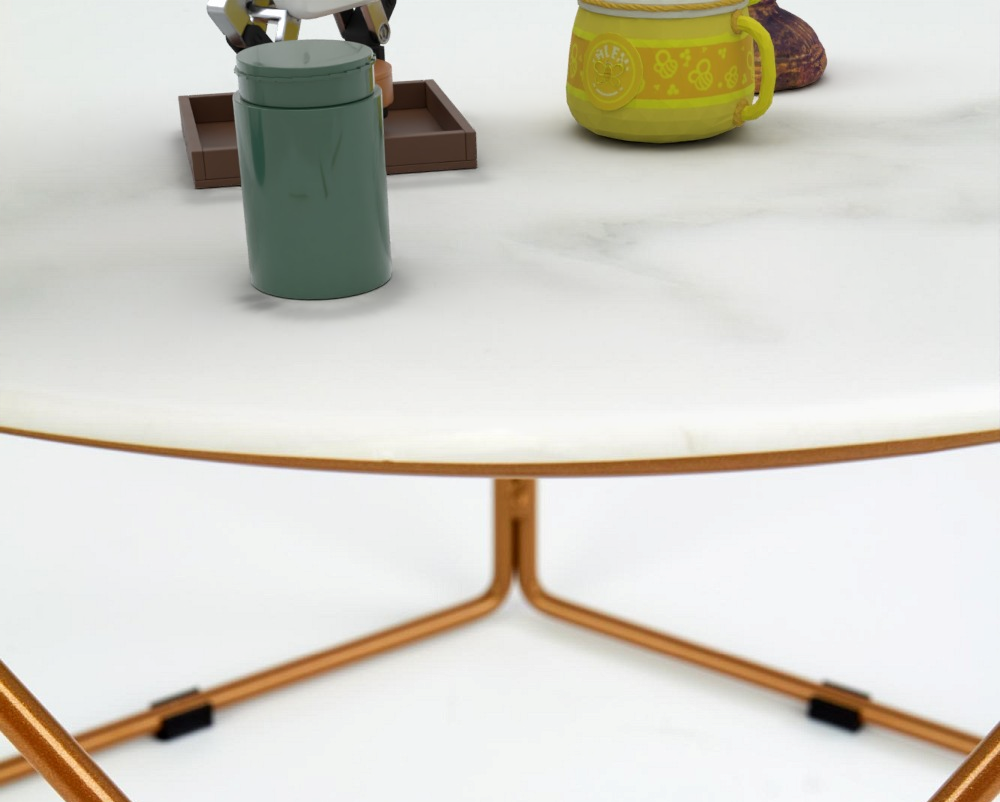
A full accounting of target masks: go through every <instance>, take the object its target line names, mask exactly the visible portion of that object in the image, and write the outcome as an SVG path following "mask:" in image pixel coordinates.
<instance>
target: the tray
mask: <svg viewBox="0 0 1000 802" xmlns="http://www.w3.org/2000/svg"><path fill="white" fill-rule="evenodd" d="M235 92H236V91H232V92H218V93H199V94H189V95H187V94H186V95H185V94H184V95H178V96H177V100H178V108H179V117H180V125H181V132H182V136H183V141H184V144H185V149H186V153H187V159H188V162H189V166H190V171H191V176H192V179H193V184H194V189H207V188H218V187H219V188H221V187H222V188H223V187H233V186H241V177H240V167H239V157H238V147H237V137H236V127H235V117H234V107H233V94H234V93H235ZM393 96H394V99H393V102H392V103H391V104H390V105H388V116H387V117H386V118H385V119H384V136H385V154H386V173H387V175H391V174H392V175H395V174H396V175H397V174H407V173H421V172H437V171H448V170H463V169H473V168H474V169H476V168H478V160H477V159H478V154H477V153H478V148H477V146H478V145H477V131H476V130H475V128H474V127H473V126H472V125H471V124H470V123H469V121H468V120H467V119H466V118H465V116H464V115H463V114H462V112H460V110H459V109H458V108H457V106H455V104H454V103H453V102H452V100H451V98H449V97H448V96H447V94H446V93H445V92H444V91H443V89H442V88H441V87H440V86H439V84H438V83H437V82H436V80H435V79H433V78H431V79H414V80H398V81H397V80H396V81H393Z"/></svg>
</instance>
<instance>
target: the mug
mask: <svg viewBox="0 0 1000 802" xmlns="http://www.w3.org/2000/svg"><path fill="white" fill-rule="evenodd" d="M576 1H577V5H578V8H577V12H576V14H575V17H574V21H573V25H572V29H571V37H570V44H569V51H568V59H567V60H568V62H567V70H566V71H567V73H566V83H565V94H566V95H565V96H566V104H567V107H568V110H569V112H570V114H571V116H572V117H573V119H574V120H575V121H576V123H577V124H579V125H580V126H581V127H583V128H585V129H586V130H589V131H590V132H591V133H594V134H595V135H598V136H603V137H607V138H611V139H617V140H622V141H627V142H640V143H651V144H668V143H678V142H679V143H680V142H689V141H690V142H691V141H696V140H697V141H699V140H704V139H710V138H713V137H716V136H719V135H721V134H723V133H726V132H729V131H731V130H734V129H735V128H740V127H742V126H743V125H744V124H745V123H746V122H747V121H754V120H758V119H759V118H760V117H762V116H764V115H765V114H766V113H767V111H768V110H769V109H770V107H771V105H772V104H773V101H774V93H775V91H774V87H775V80H776V69H775V57H774V46H773V43H772V40H771V37H770V34H769V33H768V32H767V31H766V29H765V28H764V27H763V26H762V25H761V24H760V23H759V22H757V21H756V20H754V19H753V18H751V17H749V12H748V7H747V6H749V5H753V4H756V3H758V2H759V1H761V0H576ZM753 39H754V40H755V41H756V43H757V44H758V48H759V51H760V55H761V73H762V80H761V86H760V92H759V93H758V98H757V100H756V101H755V103H753V102H754V100H755V93H754V91H755V70H754V47H753Z"/></svg>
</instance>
